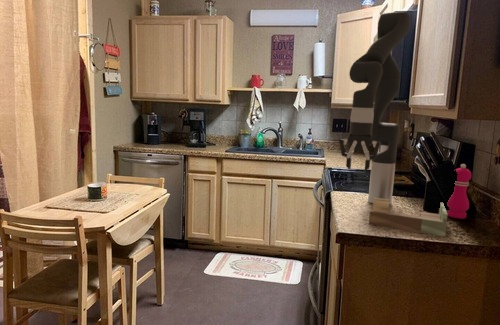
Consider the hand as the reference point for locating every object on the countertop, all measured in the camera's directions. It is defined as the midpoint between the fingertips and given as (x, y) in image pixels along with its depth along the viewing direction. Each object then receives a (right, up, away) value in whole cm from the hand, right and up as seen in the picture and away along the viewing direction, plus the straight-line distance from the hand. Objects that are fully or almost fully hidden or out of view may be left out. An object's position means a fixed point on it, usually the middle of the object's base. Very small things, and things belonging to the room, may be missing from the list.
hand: (357, 169), depth 129 cm
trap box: (+16, -19, -1) cm, 25 cm away
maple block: (+8, -16, -1) cm, 17 cm away
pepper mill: (+40, -18, +9) cm, 45 cm away
